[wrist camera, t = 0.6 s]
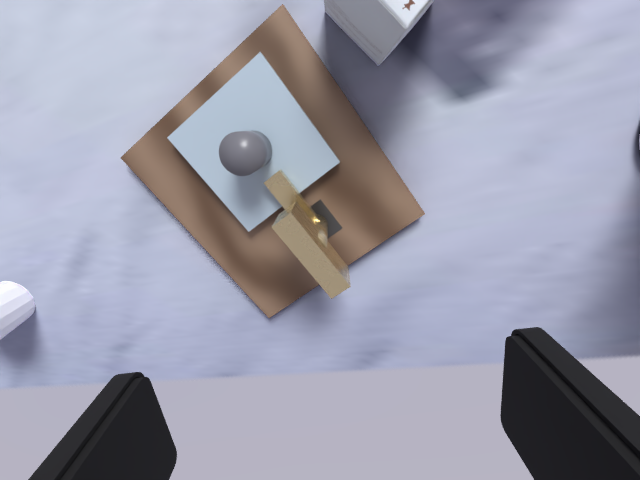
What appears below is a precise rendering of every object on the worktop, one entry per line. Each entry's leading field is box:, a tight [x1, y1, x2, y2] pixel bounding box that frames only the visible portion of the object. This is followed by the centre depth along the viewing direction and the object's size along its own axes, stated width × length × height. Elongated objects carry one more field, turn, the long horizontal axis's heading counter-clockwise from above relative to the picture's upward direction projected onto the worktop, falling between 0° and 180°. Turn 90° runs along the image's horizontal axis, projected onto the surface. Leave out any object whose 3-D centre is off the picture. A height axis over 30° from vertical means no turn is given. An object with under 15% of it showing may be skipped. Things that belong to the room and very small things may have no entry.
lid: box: [167, 52, 340, 232], centre depth 30 cm, size 12×12×6 cm
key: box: [264, 169, 351, 299], centre depth 30 cm, size 2×11×9 cm, turn 37°
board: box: [121, 4, 425, 318], centre depth 35 cm, size 22×24×2 cm
